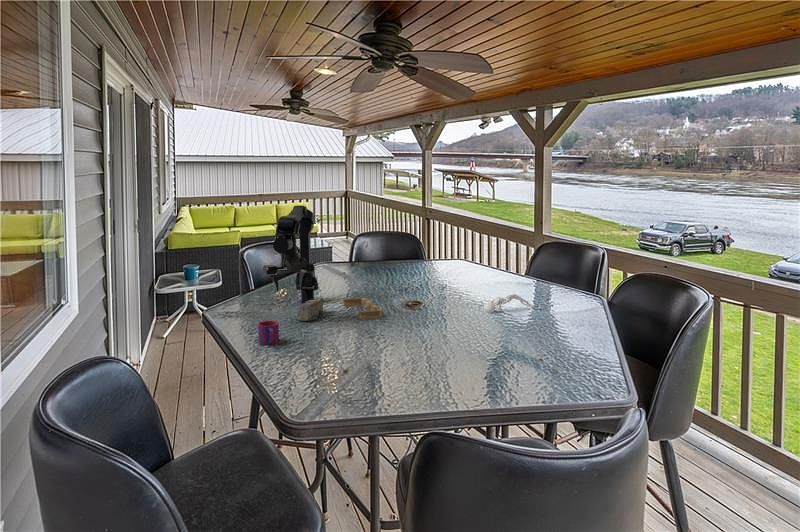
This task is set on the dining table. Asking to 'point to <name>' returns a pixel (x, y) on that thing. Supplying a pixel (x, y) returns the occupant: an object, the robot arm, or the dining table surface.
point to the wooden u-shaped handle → (373, 309)
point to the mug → (268, 332)
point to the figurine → (499, 301)
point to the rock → (310, 310)
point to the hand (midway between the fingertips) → (289, 290)
